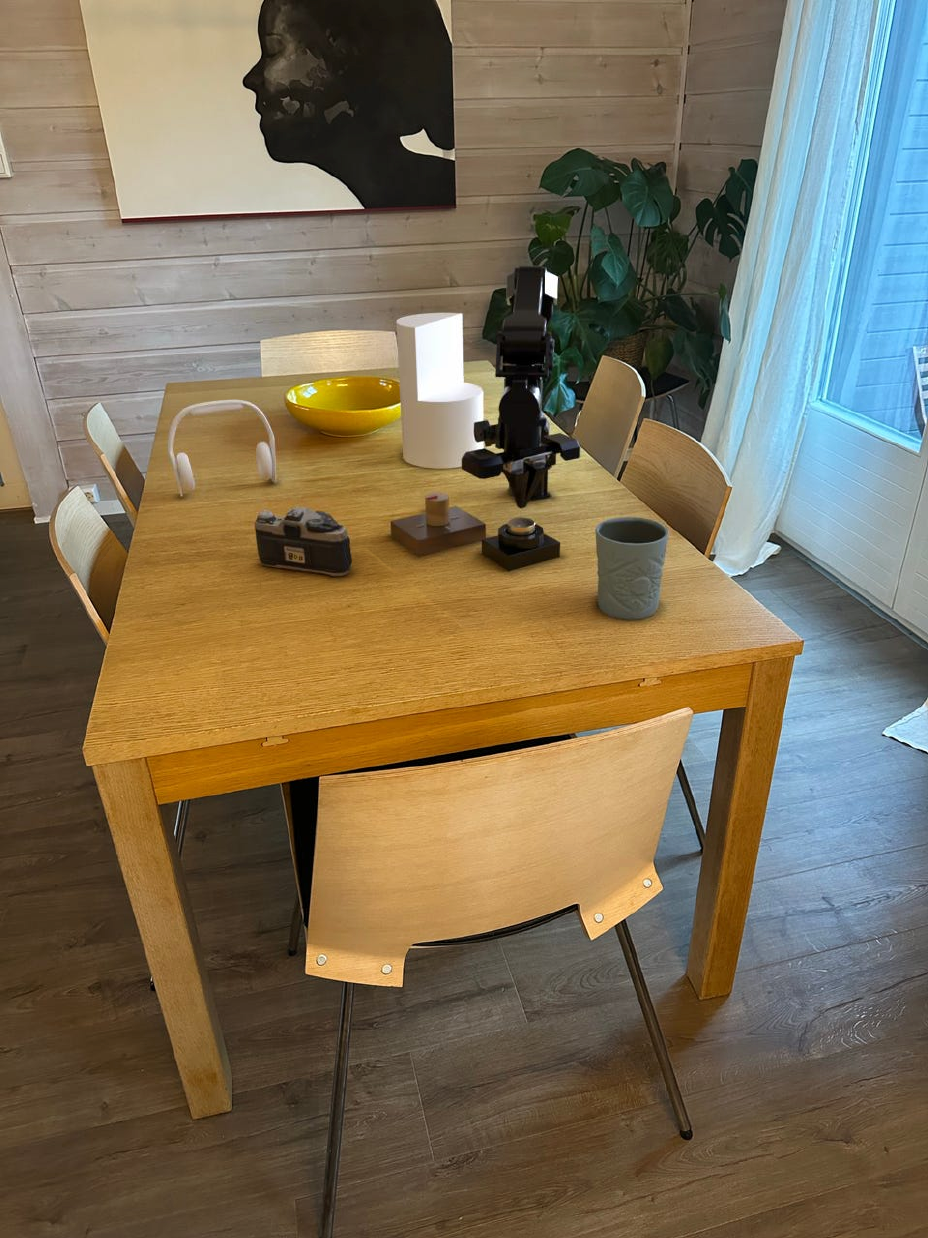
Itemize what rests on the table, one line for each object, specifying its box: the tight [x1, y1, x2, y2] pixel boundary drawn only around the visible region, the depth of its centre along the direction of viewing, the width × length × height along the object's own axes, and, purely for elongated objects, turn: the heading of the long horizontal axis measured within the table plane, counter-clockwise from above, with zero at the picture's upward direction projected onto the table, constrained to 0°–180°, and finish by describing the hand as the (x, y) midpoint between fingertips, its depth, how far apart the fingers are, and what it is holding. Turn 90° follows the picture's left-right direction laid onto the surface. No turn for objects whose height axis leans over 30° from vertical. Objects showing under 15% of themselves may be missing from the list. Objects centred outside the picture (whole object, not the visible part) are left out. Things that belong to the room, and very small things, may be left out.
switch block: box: [481, 523, 561, 572], centre depth 146 cm, size 10×8×4 cm
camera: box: [254, 505, 353, 577], centre depth 144 cm, size 16×10×10 cm, turn 71°
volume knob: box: [424, 492, 450, 526], centre depth 152 cm, size 4×4×5 cm
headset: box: [167, 399, 278, 498], centre depth 172 cm, size 20×7×18 cm, turn 112°
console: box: [389, 505, 487, 558], centre depth 153 cm, size 13×10×3 cm
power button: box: [506, 517, 536, 537], centre depth 145 cm, size 4×4×2 cm
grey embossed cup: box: [595, 516, 670, 621], centre depth 129 cm, size 10×10×12 cm
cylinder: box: [396, 312, 484, 470], centre depth 187 cm, size 17×17×28 cm
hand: (521, 507), depth 143 cm, fingers closed
